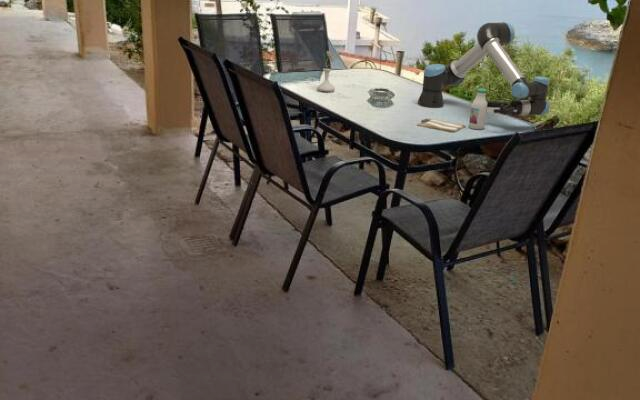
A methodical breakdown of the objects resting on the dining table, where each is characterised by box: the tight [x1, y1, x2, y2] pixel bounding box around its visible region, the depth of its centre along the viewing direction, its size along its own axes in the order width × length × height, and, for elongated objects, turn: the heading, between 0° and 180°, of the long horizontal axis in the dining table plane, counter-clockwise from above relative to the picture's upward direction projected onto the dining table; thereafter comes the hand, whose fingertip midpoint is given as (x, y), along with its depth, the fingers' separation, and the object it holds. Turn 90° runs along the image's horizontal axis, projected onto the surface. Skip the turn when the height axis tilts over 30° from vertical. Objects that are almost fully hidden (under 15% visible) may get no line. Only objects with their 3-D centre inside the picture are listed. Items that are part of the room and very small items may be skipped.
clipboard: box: [416, 118, 466, 134], centre depth 303 cm, size 16×20×2 cm
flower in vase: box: [317, 50, 336, 93], centre depth 372 cm, size 13×11×25 cm
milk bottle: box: [468, 88, 488, 130], centre depth 300 cm, size 8×8×20 cm
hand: (481, 107), depth 300 cm, fingers open, 13 cm apart
